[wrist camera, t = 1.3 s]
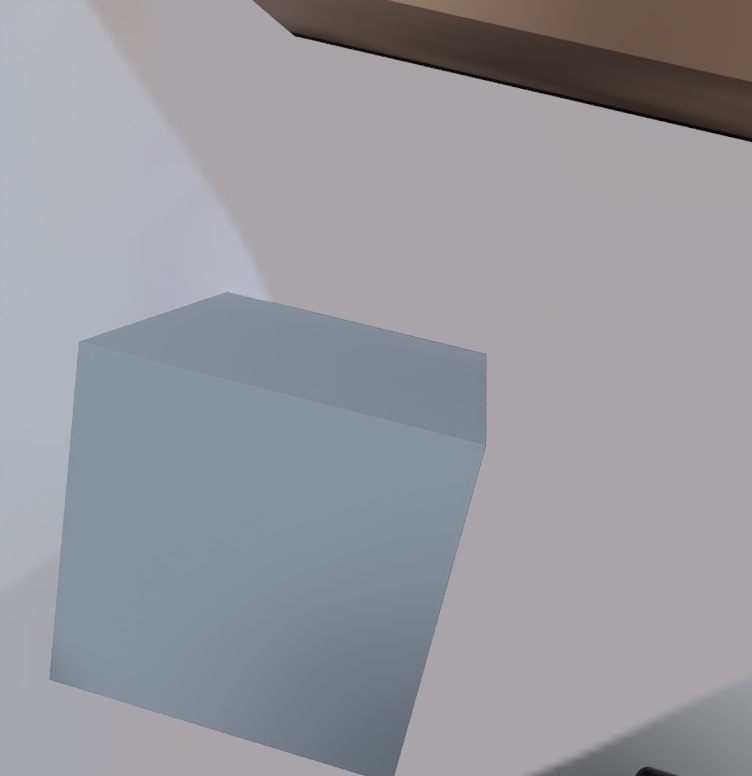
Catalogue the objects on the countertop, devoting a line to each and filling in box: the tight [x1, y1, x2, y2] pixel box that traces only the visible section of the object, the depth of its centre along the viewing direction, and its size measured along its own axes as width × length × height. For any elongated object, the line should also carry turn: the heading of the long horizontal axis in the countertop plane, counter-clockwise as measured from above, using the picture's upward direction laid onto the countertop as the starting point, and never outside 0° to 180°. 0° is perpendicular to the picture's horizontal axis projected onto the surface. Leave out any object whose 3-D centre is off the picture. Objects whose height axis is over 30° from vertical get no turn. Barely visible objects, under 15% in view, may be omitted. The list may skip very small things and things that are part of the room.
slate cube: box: [50, 292, 486, 776], centre depth 11 cm, size 5×5×5 cm
